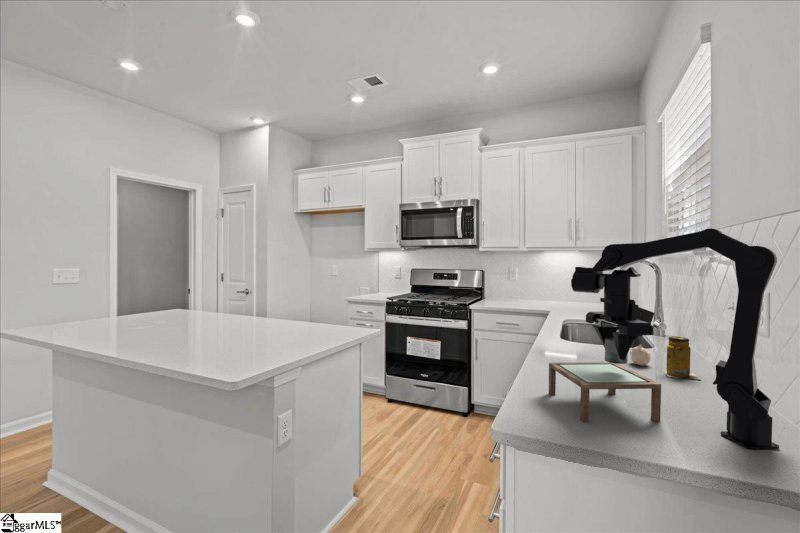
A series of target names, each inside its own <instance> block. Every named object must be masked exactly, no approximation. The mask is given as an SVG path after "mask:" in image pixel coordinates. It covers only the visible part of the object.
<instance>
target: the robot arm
mask: <svg viewBox="0 0 800 533" xmlns="http://www.w3.org/2000/svg"><path fill="white" fill-rule="evenodd" d="M701 249H710V250H712V251H714V252H716V253H718V254H720V255H722V257H725V258H727V259H729V260H730V261H733V262H734V266H735V267H734V269H735V275H736V276H735V277H736V282H737V288H738V290H737V291H738V294H737V300H736V307H735V312H734V313H735V314H734V320H733V327H732V335H731V341H730V346H729V347H730V348H729V356H728V358H727V361H725V360H722V359H720V360H719V361H718V363H716V365H715V379H714V380H713V382H712V385H713V386H715V385H716V393H717V394H718V395H719V396H720V398H721V399H722V400H723V401H725V402H726V403H727V405H728V407H727V412H726V431H725V430H724V431H722V430H721V431H720V435H722V436H723V437H725V438H727V439H729V440H731V441H733V442H735V443H737V444H738V445H741V446H742V447H745V448H746V449H749V450H760V449H761V450H765V449H767V450H769V449H773V450H774V449H780V445H779V444H777V443H774V442H773V417H772V416H771V415H770V414H769V411H770V408H771V404H772V400H771V398H769V397H768V395H766V394H765V393H764V392H763V391H762V390H760V388H758V378H757V369H756V362H755V355H756V354H755V353H756V349H757V348H756V347H757V341H758V333H759V329H760V321H761V314H762V308H763V303H764V302H763V301H764V294H765V291H766V289H767V287H768V285H769V282H770V281H771V278H772V275H773V273H774V271H775V268H776V266H777V264H778V263H777V262H778V257H777V254H776V253H775V252H774V251H773V250H771V249H770V248H768V247H766V246H760V245H748V244H746V243H744V242H742V241H740V240H738V239H735V238H734V237H732V236H729V235H728V234H726V233H723V232H722V231H721V230H719V229H715V228H713V227H711V228H710V227H709V228H706V229H702V230H699V231H694V232H690V233H686V234H680V235H676V236H669V237H667V238H666V237H665V238H660V239H656V240H652V241H646V242H636V243H635V242H634V243H632V242H631V243H630V242H629V243H612V244H609V245H606V246H605V247H604V249H602V251H601V257H600V259H598V261H597V262H596V263H595V264H594V265H593V267H585V266H575V268H574V269H575V270H574V272H573V273H572V274H573V275H572V277H571V278H570V279H571V280H570V284H571V285H570V286H571V289H572V291H573V292H574V293H589V294H598V293H599V292H600V291H601V290H603V297H600V299H599V301H600V303H603V311H589V312H587V313H586V315H585V322H586V323H589V324H592V328H593V329H594V330H595V332H596V333H597V334H596V335H597V336H598V338H599V339H600V341H601V343H602V346H603V348H604V349H605V338H606V337H614V340H615V344H616V347H617V351H618V355H619V358H620V359H621V360H625V359H626V357H627V354H628V353H630V352H629V351H630V350H631V347H632V344H633V343H634V341H635V340H636V339H638V337H642V336H654V333H655V332H654V329H655V328H654V325H652V322H653V319H654V316H655V312H653V311H651V310H648V309H645V308H643V307H641V306H640V307H639V304H636V300H635V299H634V298H633V299H632V298H631V279H632V278H638V277H641V273H639V272H638V271H637V270H636V269H635V268H634V267H633V266H632V267H631V265H634V264H637V263H639V262H642V261H645V260H647V259H651V258H656V257H662V256H668V255H672V254H673V255H674V254H677V253H678V254H680V253H686V252H690V251H695V250H696V251H697V250H701ZM627 266H629V267H628V268H627V269H617V268H625V267H627ZM607 271H608V272H609V271H610V272H611V271H612V272H611V273H604V272H607ZM594 323H595V324H594Z"/></svg>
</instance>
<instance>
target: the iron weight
mask: <svg viewBox="0 0 800 533" xmlns="http://www.w3.org/2000/svg"><path fill="white" fill-rule="evenodd" d="M628 359H629V358H628V354H627V357H626V359H625V360H621V359H620V358H619V355H618V351H617V347H616V344H615V340H614V337H606V338H605V348H604V361H605V362H610V363H616V364H618V365H625V364H628Z"/></svg>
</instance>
